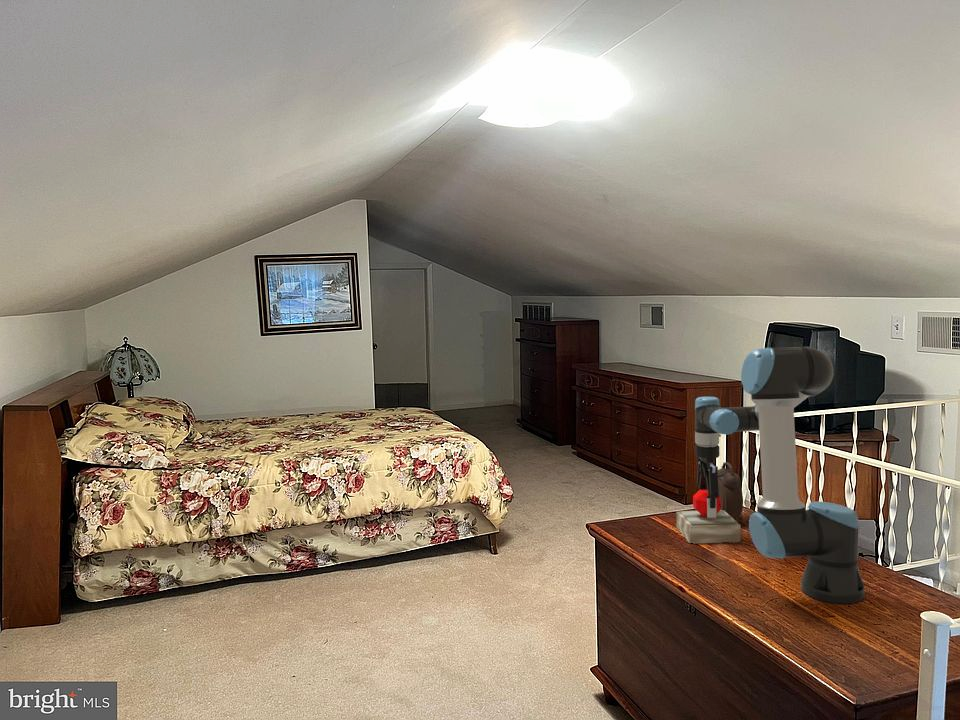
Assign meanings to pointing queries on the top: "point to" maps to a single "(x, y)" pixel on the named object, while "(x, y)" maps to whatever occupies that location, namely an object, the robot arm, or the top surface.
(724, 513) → the stand
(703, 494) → the ball
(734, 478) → the brown backpack
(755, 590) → the top surface
